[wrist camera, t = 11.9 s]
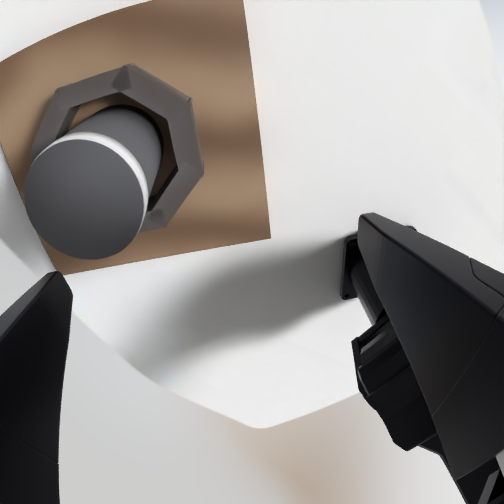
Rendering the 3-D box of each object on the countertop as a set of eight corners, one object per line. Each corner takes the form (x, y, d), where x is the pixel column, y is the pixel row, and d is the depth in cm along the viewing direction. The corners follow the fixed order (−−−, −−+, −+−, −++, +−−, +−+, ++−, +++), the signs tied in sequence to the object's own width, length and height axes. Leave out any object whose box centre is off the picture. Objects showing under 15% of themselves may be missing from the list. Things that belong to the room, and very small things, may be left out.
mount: (267, 228, 23) (276, 256, 20) (64, 265, 22) (51, 293, 19) (238, -11, 13) (245, -23, 10) (-8, 70, 12) (-36, 78, 10)
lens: (173, 179, 18) (160, 249, 13) (93, 197, 18) (53, 269, 12) (154, 92, 15) (122, 121, 9) (68, 118, 15) (5, 163, 9)
